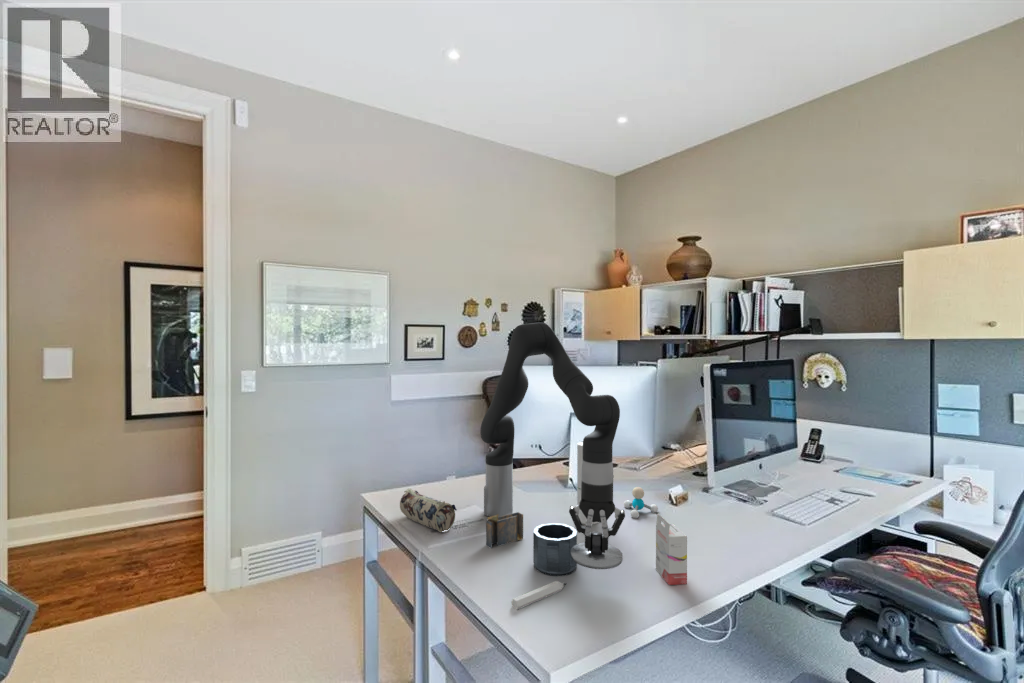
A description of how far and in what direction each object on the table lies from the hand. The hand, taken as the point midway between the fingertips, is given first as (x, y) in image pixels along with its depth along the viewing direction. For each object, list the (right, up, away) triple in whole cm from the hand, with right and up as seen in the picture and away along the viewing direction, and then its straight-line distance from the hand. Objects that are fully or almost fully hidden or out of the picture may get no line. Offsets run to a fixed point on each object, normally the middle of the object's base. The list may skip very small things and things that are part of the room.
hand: (596, 550), depth 115 cm
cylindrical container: (+5, -9, +43) cm, 44 cm away
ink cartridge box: (+20, -9, +5) cm, 22 cm away
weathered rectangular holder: (-22, -9, +26) cm, 35 cm away
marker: (-13, -9, -4) cm, 17 cm away
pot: (-9, -9, +11) cm, 16 cm away
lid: (0, -2, 0) cm, 2 cm away
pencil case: (-48, -9, +40) cm, 63 cm away
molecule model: (+24, -9, +51) cm, 57 cm away
